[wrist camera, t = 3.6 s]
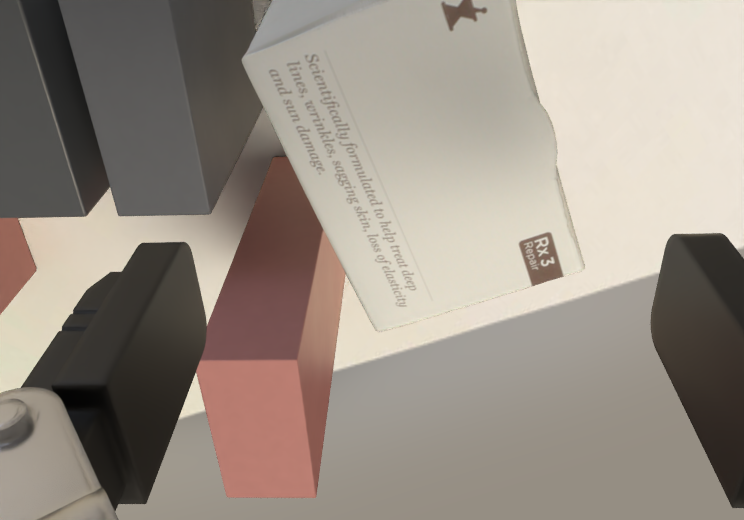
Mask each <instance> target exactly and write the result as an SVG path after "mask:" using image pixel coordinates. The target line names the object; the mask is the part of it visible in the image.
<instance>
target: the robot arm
mask: <svg viewBox="0 0 744 520" xmlns="http://www.w3.org/2000/svg"><path fill="white" fill-rule="evenodd" d="M206 333H207V325H206V315H205V310H204V306H203V301H202V297H201V292H200V287H199V283H198V278H197V274H196V269H195V265H194V260H193V256H192V252H191V249H190V247H189V245H188V244H187V243H185V242H166V243H141V244H140V245H139V246H138V247H137V249H136V250H135V252H134V253H133V255H132V257H131V258H130V260H129V261H128V263H127V265H126V266H125V268H124V269H123V271H122V272H110V273H109V274H108V275H106V276H105V277H104V278H102V279H101V280H100V281H98V282H97V283H95V284H94V285H93V286H91V287H90V288H89V289H87V290H86V292H85V293H84V295H83V296H82V298H81V299H80V301H79V302H78V304H77V305H76V307H75V308H74V310H73V314H70V316H69V317H68V318H67V320H66V321H65V323H64V324H63V326H62V331H59V332H58V333H57V335H56V336H55V338H54V339H53V341H52V342H51V344H50V345H49V347H48V348H47V349H46V351H45V352H44V354H43V355H42V357H41V358H40V360H39V361H38V363H37V364H36V366H35V367H34V369H33V370H32V372H31V373H30V375H29V376H28V378H27V379H26V380H25V382H24V383H23V385H22V386H21V388H17V389H13V390H9V391H5V392H2V393H0V520H118V518H117V515H116V513H115V511H116V508H117V506H118V504H146V503H147V500H148V497H149V495H150V492H151V490H152V487H153V484H154V482H155V479H156V476H157V474H158V471H159V468H160V466H161V463H162V460H163V458H164V455H165V452H166V450H167V447H168V444H169V442H170V439H171V437H172V434H173V431H174V429H175V425H176V423H177V421H178V418H179V415H180V413H181V410H182V407H183V405H184V402H185V399H186V397H187V394H188V391H189V389H190V386H191V383H192V381H193V378H194V375H195V373H196V370H197V368H198V365H199V362H200V360H201V357H202V354H203V351H204V348H205V343H206ZM651 333H652V339H653V343H654V346H655V348H656V351H657V353H658V355H659V357H660V359H661V361H662V363H663V365H664V367H665V369H666V371H667V374H668V376H669V378H670V379H671V381H672V384H673V386H674V388H675V390H676V392H677V394H678V396H679V398H680V400H681V402H682V405H683V406H684V409H685V411H686V413H687V415H688V417H689V419H690V421H691V423H692V425H693V427H694V429H695V431H696V433H697V436H698V438H699V440H700V442H701V444H702V446H703V448H704V450H705V452H706V454H707V456H708V458H709V460H710V462H711V465H712V466H713V468H714V471H715V473H716V475H717V477H718V479H719V481H720V483H721V485H722V487H723V489H724V491H725V494H726V496H727V498H728V500H729V502H730V504H731V506H732V507H733V508H744V259H743V257H742V256H741V255H740V253H739V252H738V251H737V250H736V248H735V247H734V246H733V245H732V243H731V242H730V241H729V239H728V238H727V237H726V236H725V235H723V234H721V233H711V234H674V235H672V236H671V237H670V238H669V240H668V241H667V244H666V247H665V252H664V256H663V261H662V265H661V270H660V274H659V279H658V284H657V288H656V293H655V297H654V302H653V306H652V312H651Z"/></svg>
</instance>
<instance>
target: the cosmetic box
mask: <svg viewBox="0 0 744 520" xmlns="http://www.w3.org/2000/svg"><path fill="white" fill-rule="evenodd" d="M242 64H243V66H244V68H245V70H246V72H247V74H248V77H249V79H250V81H251V83H252V85H253V87H254V89H255V91H256V93H257V95H258V97H259V99H260V101H261V103H262V105H263V107H264V109H265V111H266V113H267V115H268V117H269V119H270V121H271V124H272V126H273V128H274V130H275V132H276V134H277V136H278V138H279V141H280V143H281V145H282V147H283V149H284V151H285V153H286V155H287V157H288V159H289V161H290V163H291V165H292V167H293V169H294V171H295V173H296V175H297V177H298V179H299V182H300V184H301V186H302V188H303V190H304V192H305V194H306V196H307V198H308V200H309V202H310V204H311V206H312V208H313V210H314V212H315V214H316V216H317V218H318V220H319V222H320V224H321V226H322V228H323V230H324V232H325V233H326V235H327V237H328V239H329V241H330V243H331V245H332V247H333V249H334V251H335V253H336V255H337V257H338V259H339V261H340V263H341V265H342V267H343V269H344V271H345V273H346V275H347V277H348V279H349V281H350V283H351V285H352V287H353V289H354V291H355V292H356V294H357V296H358V298H359V300H360V302H361V304H362V306H363V308H364V309H365V311H366V313H367V315H368V317H369V319H370V321H371V323H372V325H373V327H374V328H375V330H376V331H378V332H382V331H386V330H389V329H393V328H397V327H401V326H405V325H408V324H411V323H414V322H418V321H421V320H424V319H428V318H431V317H435V316H438V315H441V314H444V313H447V312H450V311H453V310H457V309H460V308H463V307H467V306H470V305H473V304H477V303H480V302H483V301H486V300H490V299H493V298H496V297H499V296H503V295H506V294H509V293H513V292H516V291H519V290H523V289H526V288H529V287H532V286H535V285H538V284H541V283H543V282H546V281H550V280H553V279H557V278H560V277H563V276H567V275H571V274H574V273H578V272H581V271H583V270H584V268H585V264H584V261H583V258H582V255H581V251H580V248H579V244H578V241H577V237H576V234H575V230H574V227H573V223H572V220H571V216H570V213H569V209H568V206H567V202H566V199H565V195H564V191H563V187H562V184H561V180H560V176H559V173H558V169H557V165H556V162H557V142H556V137H555V132H554V128H553V125H552V122H551V120H550V118H549V115H548V113H547V112H546V110H545V109H544V108H543V106H542V105H541V104H540V101H539V97H538V93H537V90H536V86H535V82H534V79H533V75H532V71H531V67H530V63H529V59H528V55H527V51H526V47H525V43H524V39H523V35H522V31H521V26H520V22H519V17H518V12H517V6H516V0H272V2H271V4H270V6H269V8H268V10H267V12H266V14H265V16H264V18H263V20H262V22H261V24H260V26H259V28H258V30H257V32H256V34H255V36H254V38H253V40H252V42H251V44H250V47H249V49H248V51H247V52H246V54H245V55H244V56H243V58H242Z"/></svg>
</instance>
